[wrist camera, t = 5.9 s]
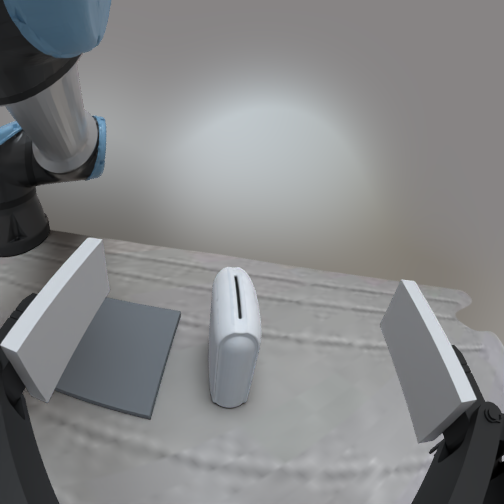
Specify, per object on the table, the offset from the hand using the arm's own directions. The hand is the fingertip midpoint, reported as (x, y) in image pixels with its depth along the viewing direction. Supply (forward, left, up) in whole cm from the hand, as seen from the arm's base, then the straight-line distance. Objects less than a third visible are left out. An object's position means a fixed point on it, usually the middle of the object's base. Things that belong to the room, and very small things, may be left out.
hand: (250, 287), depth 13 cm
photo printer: (-11, 0, -21) cm, 24 cm away
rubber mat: (-11, -15, -21) cm, 28 cm away
